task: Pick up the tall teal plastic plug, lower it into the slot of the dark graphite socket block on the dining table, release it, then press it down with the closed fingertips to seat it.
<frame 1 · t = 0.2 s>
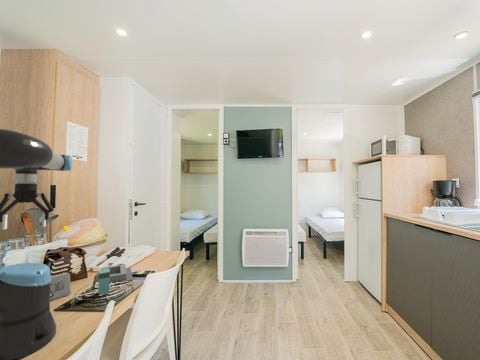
hand: (24, 227, 101), 28 cm above the table, fingers open, 13 cm apart
plug: (104, 293, 95), on the table
socket: (114, 278, 111), on the table
electrical switch: (55, 297, 92), on the table
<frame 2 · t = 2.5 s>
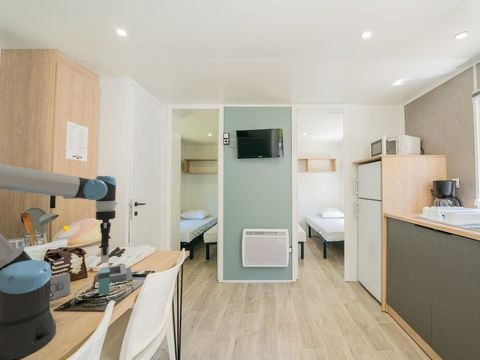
hand: (105, 257, 96), 16 cm above the table, fingers open, 13 cm apart
nothing on the table moved.
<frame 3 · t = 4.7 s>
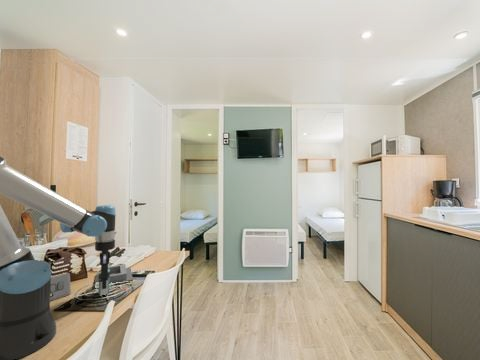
hand: (104, 292, 95), 0 cm above the table, fingers closed on plug, 4 cm apart
plug: (104, 293, 95), on the table, touching gripper
everything else where it was.
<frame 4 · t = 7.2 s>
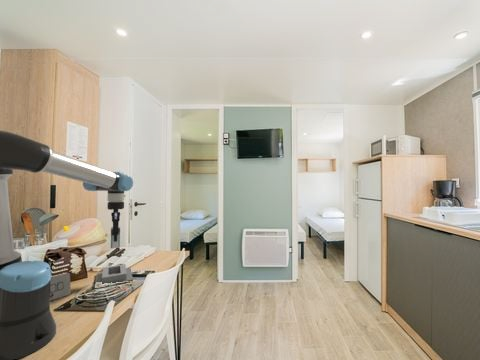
hand: (115, 246, 111), 16 cm above the table, fingers closed on plug, 4 cm apart
plug: (115, 246, 111), point 16 cm above the table, touching gripper
everything else where it was.
when the fingers open (4 cm above the table, at t = 9.4 s): plug drops 2 cm, resting on socket.
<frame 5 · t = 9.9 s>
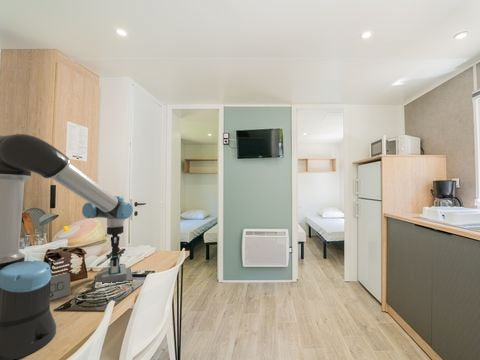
hand: (114, 268, 111), 5 cm above the table, fingers open, 11 cm apart
plug: (114, 276, 111), point 1 cm above the table, touching socket
everything else where it was.
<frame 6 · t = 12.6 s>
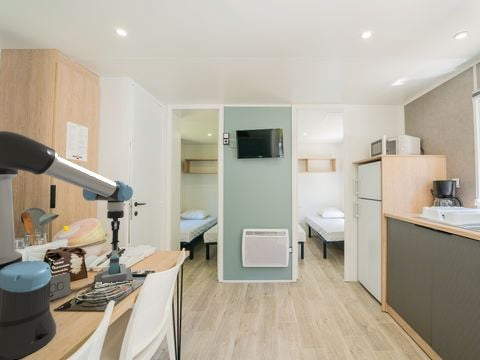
hand: (114, 255, 111), 12 cm above the table, fingers closed
nothing on the table moved.
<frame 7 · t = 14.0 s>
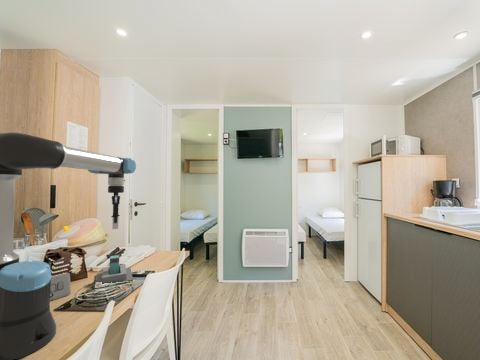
hand: (115, 228, 117), 24 cm above the table, fingers closed
nothing on the table moved.
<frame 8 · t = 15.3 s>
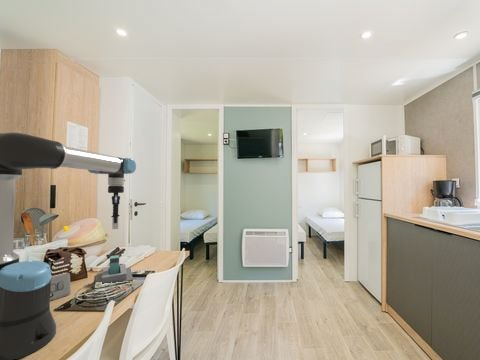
hand: (115, 228, 117), 24 cm above the table, fingers closed
nothing on the table moved.
at the end: plug 0.0 cm off-centre on the socket, point 1.0 cm above the socket's base; plug tilted 0°; the gripper is holding nothing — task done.
